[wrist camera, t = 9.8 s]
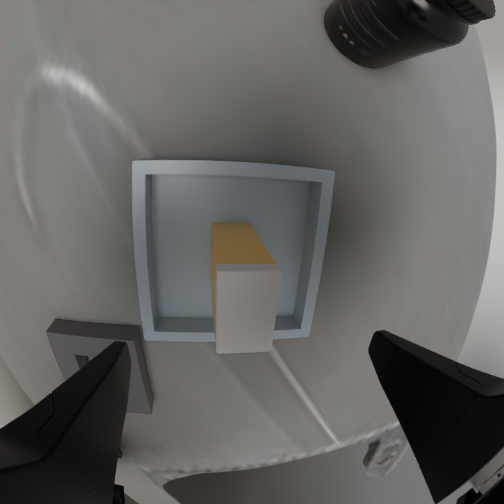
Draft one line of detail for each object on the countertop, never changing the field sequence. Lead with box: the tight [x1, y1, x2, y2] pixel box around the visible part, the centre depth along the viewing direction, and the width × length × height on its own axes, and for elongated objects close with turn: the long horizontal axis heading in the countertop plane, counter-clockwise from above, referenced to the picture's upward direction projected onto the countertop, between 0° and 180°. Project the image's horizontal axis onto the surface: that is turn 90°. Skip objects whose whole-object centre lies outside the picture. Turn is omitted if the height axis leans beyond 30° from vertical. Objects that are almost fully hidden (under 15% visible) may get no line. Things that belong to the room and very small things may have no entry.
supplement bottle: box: [325, 0, 495, 68], centre depth 10 cm, size 7×7×12 cm
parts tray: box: [132, 160, 335, 342], centre depth 18 cm, size 12×12×2 cm
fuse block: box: [46, 319, 153, 414], centre depth 20 cm, size 9×8×2 cm
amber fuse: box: [210, 222, 281, 354], centre depth 15 cm, size 4×2×8 cm, turn 176°
